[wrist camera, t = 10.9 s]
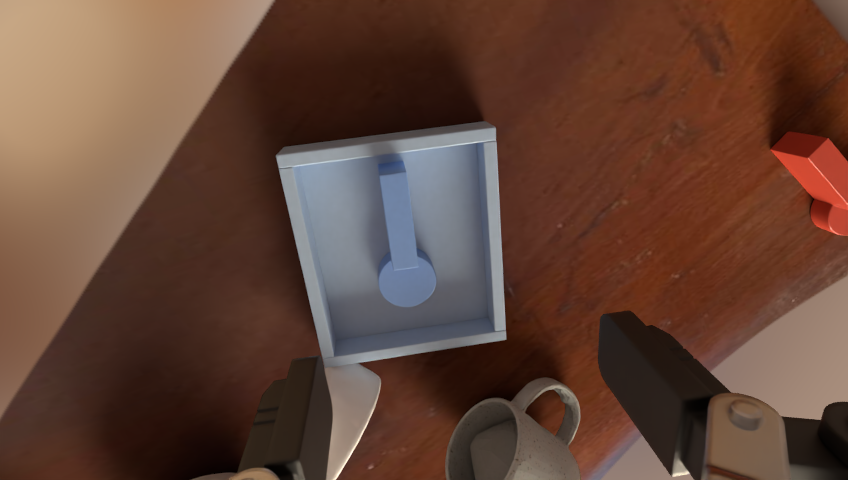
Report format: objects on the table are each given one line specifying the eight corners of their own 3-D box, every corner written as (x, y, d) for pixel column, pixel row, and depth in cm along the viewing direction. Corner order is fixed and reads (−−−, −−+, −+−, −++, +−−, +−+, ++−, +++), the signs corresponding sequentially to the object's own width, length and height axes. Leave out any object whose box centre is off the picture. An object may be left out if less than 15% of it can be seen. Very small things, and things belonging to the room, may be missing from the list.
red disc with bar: (756, 162, 32) (793, 171, 29) (801, 117, 31) (843, 123, 28) (826, 238, 35) (866, 253, 32) (868, 199, 34) (913, 211, 31)
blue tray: (283, 146, 28) (275, 154, 26) (485, 120, 29) (496, 126, 26) (328, 346, 33) (324, 368, 31) (497, 320, 34) (506, 340, 32)
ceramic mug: (505, 481, 40) (536, 570, 33) (436, 439, 38) (453, 526, 31) (593, 400, 38) (645, 477, 31) (526, 351, 36) (566, 422, 28)
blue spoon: (359, 166, 28) (358, 177, 26) (420, 158, 29) (426, 168, 26) (382, 300, 32) (383, 323, 29) (436, 292, 32) (442, 314, 29)
